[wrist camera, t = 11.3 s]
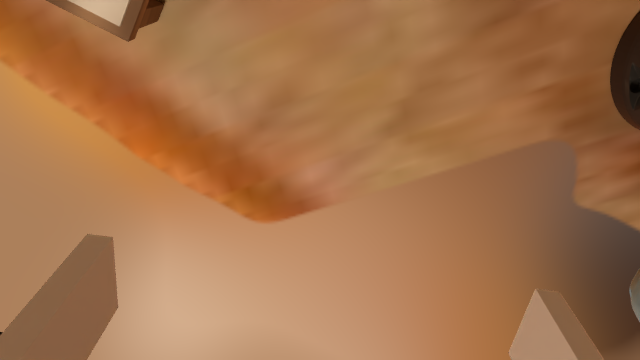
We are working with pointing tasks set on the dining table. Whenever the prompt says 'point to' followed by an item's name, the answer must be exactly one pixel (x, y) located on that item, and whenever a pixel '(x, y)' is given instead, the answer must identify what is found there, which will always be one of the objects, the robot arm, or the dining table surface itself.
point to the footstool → (115, 14)
